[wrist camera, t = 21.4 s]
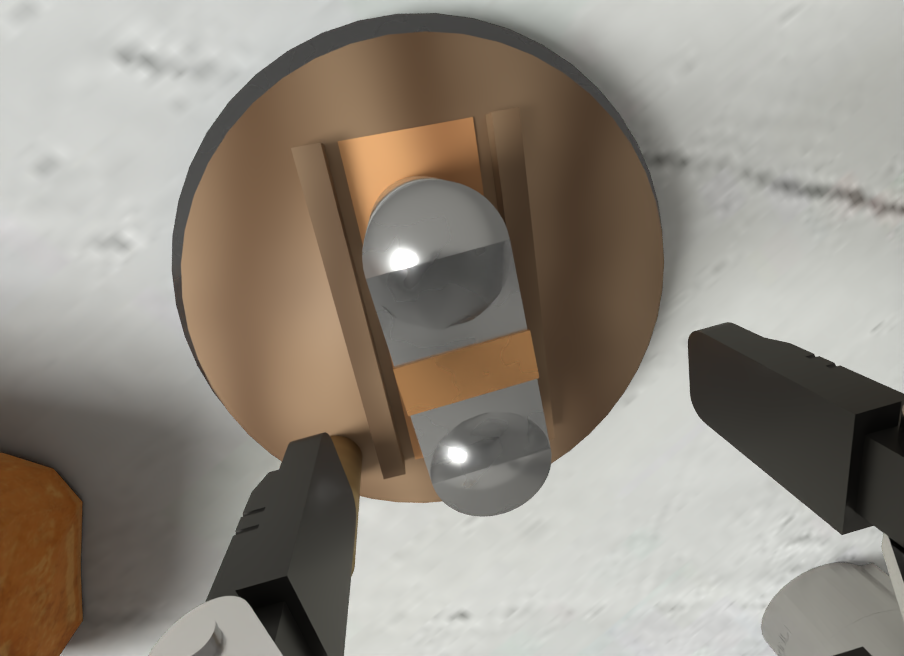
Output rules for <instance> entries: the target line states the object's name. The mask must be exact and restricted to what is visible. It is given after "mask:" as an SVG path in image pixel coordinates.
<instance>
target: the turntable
mask: <svg viewBox="0 0 904 656" xmlns="http://www.w3.org/2000/svg"><path fill="white" fill-rule="evenodd" d="M411 176H429V177H433V178H438V179H442V180H447V181H451V182H455V183H460V184H462V185H465V186H467V187H470V188H472V189H473V190H475V191H477V192H479V193H480V194H481V195H483V196H484V197H485V198H486V199H487V200H488V201H489V202H490V203H491V204H492V205H493V206H494V207H495V208H496V210H497V211H498V212H499V214H500V216H501V217H502V219H503V221H504V223H505V225H506V228H507V231H508V234H509V238H510V243H511V248H512V253H513V258H514V263H515V268H516V273H517V279H518V284H519V289H520V294H521V299H522V304H523V309H524V314H525V319H526V325H527V330H528V329H529V330H530V332H531V337H532V342H533V348H534V353H535V358H536V363H537V368H538V373H539V378H538V379H537V381H538V386H539V391H540V396H541V401H542V406H543V412H544V417H545V422H546V427H547V432H548V437H549V442H550V447H551V455H552V456H551V463H553V462H554V461H556V460H557V459H559V458H560V457H561V456H563V455H564V454H566V453H567V452H569V451H570V450H571V449H572V448H574V447H575V446H576V445H577V444H578V443H579V442H581V441H582V440H583V439H584V438H585V437H586V436H588V435H589V434H590V433H591V432H592V431H593V430H594V429H595V427H596V426H597V425H598V424H599V423H600V422H601V421H602V420H603V419H604V418H605V417H606V416H607V415H608V413H609V412H610V411H611V409H612V408H613V407H614V405H615V404H616V403H617V401H618V400H619V399H620V397H621V396H622V395H623V393H624V392H625V390H626V389H627V387H628V385H629V383H630V382H631V380H632V378H633V377H634V375H635V373H636V372H637V370H638V368H639V365H640V363H641V361H642V359H643V356H644V354H645V352H646V350H647V347H648V345H649V342H650V339H651V336H652V333H653V330H654V326H655V323H656V320H657V316H658V311H659V305H660V300H661V294H662V287H663V270H664V254H663V239H662V229H661V224H660V219H659V214H658V209H657V204H656V201H655V198H654V195H653V192H652V189H651V186H650V183H649V180H648V177H647V175H646V172H645V170H644V168H643V166H642V164H641V162H640V160H639V158H638V156H637V154H636V152H635V150H634V148H633V147H632V145H631V143H630V142H629V140H628V139H627V138H626V136H625V135H624V133H623V132H622V130H621V129H620V128H619V126H618V125H617V123H616V122H615V120H614V119H613V118H612V117H611V116H610V115H609V113H608V112H607V111H606V110H605V109H604V108H603V107H602V106H601V105H600V104H599V103H598V102H597V101H596V100H595V99H594V98H593V96H592V95H591V94H590V93H588V92H587V91H586V90H585V89H583V88H582V87H581V86H579V85H578V84H577V83H576V82H574V81H573V80H572V79H571V78H569V77H568V76H567V75H566V74H564V73H563V72H561V71H559V70H558V69H556V68H554V67H553V66H551V65H549V64H547V63H546V62H544V61H542V60H540V59H539V58H537V57H535V56H533V55H531V54H529V53H526V52H523V51H521V50H518V49H516V48H513V47H511V46H508V45H505V44H503V43H500V42H497V41H492V40H488V39H483V38H479V37H474V36H470V35H465V34H456V33H441V32H426V31H425V32H413V33H402V34H390V35H384V36H380V37H376V38H372V39H368V40H364V41H360V42H356V43H352V44H349V45H346V46H344V47H341V48H339V49H337V50H334V51H332V52H329V53H327V54H324V55H322V56H320V57H317V58H315V59H313V60H311V61H310V62H308V63H307V64H305V65H303V66H302V67H300V68H298V69H297V70H295V71H293V72H292V73H290V74H288V75H287V76H285V77H284V78H282V79H281V80H280V81H278V82H277V83H276V84H275V85H274V86H272V87H271V88H270V89H269V90H268V91H266V92H265V93H264V94H263V95H262V96H261V97H259V98H258V99H257V100H256V101H255V102H253V103H252V105H251V106H250V107H249V108H248V109H247V110H246V111H245V113H244V114H243V115H242V116H241V117H240V118H239V119H238V121H237V122H236V123H235V124H234V125H233V126H232V127H231V129H230V130H229V131H228V132H227V134H226V135H225V137H224V139H223V140H222V142H221V143H220V145H219V147H218V148H217V150H216V151H215V153H214V154H213V156H212V158H211V159H210V161H209V162H208V165H207V167H206V169H205V171H204V174H203V176H202V178H201V181H200V183H199V185H198V187H197V190H196V192H195V194H194V197H193V201H192V205H191V209H190V212H189V216H188V220H187V224H186V227H185V233H184V242H183V251H182V260H181V276H182V299H183V304H184V310H185V315H186V320H187V326H188V331H189V334H190V337H191V339H192V342H193V345H194V348H195V351H196V354H197V357H198V360H199V362H200V364H201V366H202V368H203V370H204V372H205V374H206V376H207V378H208V380H209V382H210V384H211V386H212V388H213V390H214V391H215V393H216V394H217V395H218V397H219V398H220V400H221V401H222V403H223V404H224V406H225V407H226V409H227V410H228V412H229V413H230V414H231V415H232V416H233V417H234V419H235V420H236V421H237V422H238V423H239V424H240V425H241V426H242V428H243V429H244V430H245V431H246V432H247V433H248V434H249V435H250V436H251V437H252V438H253V439H254V440H255V441H257V442H258V443H259V444H260V445H261V446H262V447H264V448H265V449H266V450H267V451H268V452H269V453H270V454H272V455H273V456H275V457H276V458H278V459H279V460H281V461H282V460H283V458H284V455H285V452H286V449H287V447H288V444H289V443H290V442H291V441H295V440H298V439H302V438H306V437H309V436H313V435H316V434H320V433H324V432H326V433H328V434H329V436H330V437H331V439H332V441H333V444H334V446H335V449H336V451H337V454H338V456H339V459H340V461H341V464H342V466H343V469H344V471H345V474H346V476H347V479H348V481H349V484H350V486H351V489H352V492H353V496H354V500H355V506H356V529H355V540H354V551H353V561H352V572H351V576H352V574H353V571H354V567H355V554H356V540H357V525H358V511H359V497H360V496H363V497H367V498H371V499H378V500H386V501H393V502H413V503H428V502H440V501H442V500H441V499H440V497H439V496H438V495H437V493H436V491H435V490H434V487H433V485H432V482H431V479H430V476H429V473H428V469H427V466H426V463H425V460H424V457H423V454H422V451H421V448H420V445H419V442H418V439H417V435H416V432H415V429H414V426H413V423H412V420H411V417H410V416H408V414H407V411H406V408H405V405H404V402H403V399H402V396H401V393H400V390H399V387H398V384H397V381H396V378H395V374H394V371H393V368H394V364H393V361H392V358H391V355H390V352H389V349H388V346H387V343H386V340H385V337H384V334H383V331H382V327H381V324H380V321H379V318H378V315H377V312H376V309H375V306H374V303H373V300H372V297H371V294H370V290H369V287H368V284H367V281H366V278H365V274H364V270H363V262H362V249H363V243H364V238H365V234H366V230H367V226H368V222H369V218H370V214H371V211H372V208H373V206H374V204H375V202H376V200H377V199H378V197H379V196H380V195H381V193H382V192H383V191H384V190H385V189H386V188H387V187H388V186H390V185H391V184H393V183H394V182H396V181H398V180H400V179H403V178H406V177H411Z"/></svg>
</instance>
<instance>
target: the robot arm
mask: <svg viewBox="0 0 904 656" xmlns="http://www.w3.org/2000/svg"><path fill="white" fill-rule="evenodd" d="M688 358H689V379H690V396H691V401H692V404H693V406H694V409H695V411H696V412H697V414H698V416H699V417H700V418H701V419H702V421H703V422H705V423H706V424H707V425H708V426H709V427H711V428H712V429H713V430H714V431H715V432H717V433H718V434H719V435H720V436H722V437H723V438H724V439H725V440H726V441H728V442H729V443H730V444H731V445H733V446H734V447H735V448H736V449H737V450H739V451H740V452H741V453H742V454H744V455H745V456H746V457H747V458H748V459H750V460H751V461H752V462H753V463H755V464H756V465H757V466H758V467H759V468H761V469H762V470H763V471H764V472H766V473H767V474H768V475H769V476H771V477H772V478H773V479H774V480H775V481H777V482H778V483H779V484H780V485H782V486H783V487H784V488H785V489H786V490H788V491H789V492H790V493H791V494H793V495H794V496H795V497H796V498H797V499H799V500H800V501H801V502H802V503H804V504H805V505H806V506H807V507H808V508H810V509H811V510H812V511H813V512H815V513H816V514H817V515H818V516H819V517H821V518H822V519H823V520H824V521H826V522H827V523H828V524H829V525H830V526H832V527H833V528H834V529H835V530H837V531H838V532H839V533H840V534H841V535H844V534H847V533H850V532H854V531H857V530H860V529H864V528H867V527H870V526H875V527H876V528H878V529H879V530H881V531H882V532H883V538H882V545H881V548H882V553H883V556H884V559H885V563H886V566H887V569H888V572H889V575H887V574H886V573H885V572H884V571H883V570H881V569H880V568H879V567H878V566H876V565H875V564H874V563H869V564H866V565H861V566H859V565H855V564H851V563H842V562H837V563H830V564H825V565H822V566H819V567H815V568H813V569H811V570H809V571H807V572H804V573H802V574H801V575H799V576H798V577H796V578H795V579H793V580H791V581H790V582H789V583H788V584H787V585H785V586H784V587H783V588H782V589H781V590H780V591H779V592H778V593H777V594H776V595H775V596H774V598H773V599H772V600H771V602H770V603H769V605H768V606H767V608H766V610H765V613H764V615H763V618H762V624H761V630H762V635H763V637H764V639H765V641H766V642H767V643H768V644H769V646H770V647H771V648H772V649H773V651H774V652H775V653H776V654H777V656H904V394H903V393H901V392H898V391H896V390H894V389H892V388H889V387H887V386H885V385H883V384H880V383H878V382H876V381H874V380H871V379H869V378H867V377H865V376H862V375H860V374H858V373H856V372H853V371H851V370H849V369H847V368H845V367H842V366H836V365H835V363H833V362H831V361H829V360H827V359H824V358H822V357H820V356H818V357H815V355H814V354H813V353H811V352H809V351H806V350H804V349H802V348H800V347H797V346H795V345H793V344H791V343H786V342H782V341H777V340H773V339H768V338H764V337H762V336H759V335H757V334H755V333H753V332H751V331H749V330H746V329H744V328H742V327H740V326H738V325H736V324H733V323H729V322H727V323H723V324H719V325H715V326H712V327H708V328H705V329H701V330H697V331H694V332H692V333H691V334H690V336H689V339H688ZM355 529H356V506H355V500H354V496H353V492H352V489H351V486H350V484H349V481H348V479H347V476H346V474H345V471H344V469H343V466H342V464H341V461H340V459H339V456H338V454H337V451H336V449H335V446H334V444H333V441H332V439H331V437H330V436H329V434H328V433H326V432H324V433H320V434H316V435H313V436H309V437H306V438H302V439H298V440H295V441H291V442H290V443H289V444H288V447H287V449H286V452H285V455H284V458H283V460H282V463H281V466H280V469H279V470H276V471H272V472H269V473H268V474H267V475H266V476H265V478H264V479H263V480H262V481H261V482H260V483H259V485H258V486H257V487H256V488H255V489H254V490H253V491H252V493H251V495H250V498H249V500H248V502H247V505H246V507H245V509H244V512H243V517H241V519H240V521H239V524H238V526H237V528H236V535H234V536H233V538H232V540H231V543H230V545H229V547H228V550H227V552H226V554H225V557H224V559H223V562H222V564H221V566H220V569H219V571H218V573H217V576H216V578H215V581H214V583H213V585H212V588H211V590H210V592H209V595H208V597H207V599H206V602H205V603H203V604H201V605H199V606H197V607H196V608H194V609H192V610H191V611H189V612H188V613H187V614H185V615H184V616H183V617H181V618H180V619H179V620H178V621H176V622H175V623H174V624H173V625H172V626H171V627H170V628H169V629H168V630H167V631H166V632H165V633H164V634H163V635H162V637H161V638H160V639H159V640H158V641H157V643H156V644H155V645H154V647H153V648H152V650H151V651H150V653H149V655H148V656H344V647H345V636H346V625H347V615H348V604H349V593H350V583H351V572H352V561H353V551H354V540H355Z"/></svg>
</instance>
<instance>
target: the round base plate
mask: <svg viewBox="0 0 904 656" xmlns="http://www.w3.org/2000/svg"><path fill="white" fill-rule="evenodd" d="M425 31H426V32H441V33H456V34H465V35H470V36H474V37H479V38H483V39H488V40H492V41H497V42H500V43H503V44H505V45H508V46H511V47H513V48H516V49H518V50H521V51H523V52H526V53H529V54H531V55H533V56H535V57H537V58H539V59H540V60H542V61H544V62H546V63H547V64H549V65H551V66H553V67H554V68H556V69H558V70H559V71H561V72H563V73H564V74H566V75H567V76H568V77H569V78H571V79H572V80H573V81H574V82H576V83H577V84H578V85H579V86H581V87H582V88H583V89H585V90H586V91H587V92H588V93H590V94H591V95H592V96H593V98H594V99H595V100H596V101H597V102H598V103H599V104H600V105H601V106H602V107H603V108H604V109H605V110H606V111H607V112H608V113H609V115H610V116H611V117H612V118H613V119H614V120H615V122H616V123H617V125H618V126H619V128H620V129H621V130H622V132H623V133H624V135H625V136H626V138H627V139H628V140H629V142H630V143H631V145H632V147H633V148H634V150H635V152H636V154H637V156H638V158H639V160H640V162H641V164H642V166H643V168H644V170H645V172H646V175H647V177H648V180H649V183H650V186H651V189H652V192H653V195H654V198H655V201H656V204H657V209H658V214H659V219H660V213H659V206H658V201H657V197H656V194H655V190H654V186H653V183H652V179H651V176H650V172H649V170H648V168H647V165H646V163H645V161H644V158H643V156H642V154H641V151H640V149H639V147H638V144H637V142H636V141H635V139H634V137H633V136H632V134H631V132H630V131H629V129H628V127H627V126H626V124H625V123H624V121H623V119H622V118H621V116H620V114H619V113H618V112H617V111H616V110H615V108H614V107H613V106H612V105H611V103H610V102H609V101H608V100H607V99H606V97H605V96H604V95H603V94H602V92H601V91H600V90H599V89H598V88H597V87H596V86H595V85H594V84H593V83H592V82H591V81H590V80H588V79H587V78H586V77H585V76H584V75H583V74H582V73H581V72H580V71H579V70H577V69H576V68H575V67H574V66H573V65H572V64H570V63H569V62H567V61H566V60H564V59H563V58H561V57H560V56H558V55H557V54H555V53H554V52H552V51H551V50H549V49H548V48H546V47H545V46H544V45H542V44H540V43H538V42H535V41H533V40H531V39H529V38H527V37H525V36H523V35H521V34H519V33H516V32H514V31H512V30H510V29H507V28H504V27H500V26H497V25H494V24H490V23H487V22H484V21H480V20H477V19H473V18H466V17H459V16H452V15H444V14H437V13H426V14H394V15H389V16H383V17H377V18H371V19H365V20H360V21H356V22H353V23H351V24H348V25H345V26H342V27H339V28H336V29H333V30H330V31H327V32H324V33H321V34H319V35H317V36H316V37H314V38H312V39H310V40H308V41H306V42H304V43H302V44H300V45H298V46H296V47H295V48H293V49H291V50H289V51H287V52H286V53H284V54H283V55H282V56H280V57H279V58H278V59H276V60H275V61H274V62H272V63H271V64H269V65H268V66H267V67H265V68H264V69H263V70H261V71H260V72H259V73H257V74H256V75H255V76H254V77H253V78H252V79H251V80H250V81H249V82H248V83H247V84H246V85H245V86H244V87H243V88H242V89H241V90H240V91H239V92H238V93H237V94H236V95H235V96H234V97H233V98H232V99H231V100H230V101H229V103H228V104H227V105H226V107H225V108H224V110H223V111H222V112H221V114H220V115H219V117H218V118H217V119H216V121H215V122H214V123H213V125H212V126H211V128H210V129H209V130H208V132H207V133H206V135H205V137H204V139H203V141H202V143H201V145H200V147H199V149H198V151H197V153H196V155H195V157H194V159H193V161H192V163H191V165H190V167H189V170H188V173H187V176H186V179H185V183H184V186H183V189H182V192H181V195H180V198H179V201H178V207H177V213H176V219H175V225H174V231H173V240H172V275H173V283H174V291H175V299H176V306H177V309H178V313H179V317H180V320H181V324H182V328H183V331H184V335H185V338H186V340H187V342H188V345H189V347H190V349H191V352H192V354H193V356H194V359H195V361H196V363H197V366H198V367H199V369H200V371H201V372H202V374H203V376H204V377H205V379H206V381H207V382H208V384H209V386H210V387H211V389H212V391H213V392H214V394H215V395H216V396H217V397H218V395H217V394H216V393H215V391H214V390H213V388H212V386H211V384H210V382H209V380H208V378H207V376H206V374H205V372H204V370H203V368H202V366H201V364H200V362H199V360H198V357H197V354H196V351H195V348H194V345H193V342H192V339H191V337H190V334H189V331H188V326H187V320H186V315H185V310H184V304H183V299H182V276H181V260H182V251H183V242H184V233H185V227H186V224H187V220H188V216H189V212H190V209H191V205H192V201H193V197H194V194H195V192H196V190H197V187H198V185H199V183H200V181H201V178H202V176H203V174H204V171H205V169H206V167H207V165H208V162H209V161H210V159H211V158H212V156H213V154H214V153H215V151H216V150H217V148H218V147H219V145H220V143H221V142H222V140H223V139H224V137H225V135H226V134H227V132H228V131H229V130H230V129H231V127H232V126H233V125H234V124H235V123H236V122H237V121H238V119H239V118H240V117H241V116H242V115H243V114H244V113H245V111H246V110H247V109H248V108H249V107H250V106H251V105H252V103H253V102H255V101H256V100H257V99H258V98H259V97H261V96H262V95H263V94H264V93H265V92H266V91H268V90H269V89H270V88H271V87H272V86H274V85H275V84H276V83H277V82H278V81H280V80H281V79H282V78H284V77H285V76H287V75H288V74H290V73H292V72H293V71H295V70H297V69H298V68H300V67H302V66H303V65H305V64H307V63H308V62H310V61H311V60H313V59H315V58H317V57H320V56H322V55H324V54H327V53H329V52H332V51H334V50H337V49H339V48H341V47H344V46H346V45H349V44H352V43H356V42H360V41H364V40H368V39H372V38H376V37H380V36H384V35H390V34H402V33H413V32H425ZM660 224H661V220H660ZM661 229H662V227H661ZM218 399H219V400H220V398H219V397H218ZM220 401H221V400H220ZM221 402H222V401H221ZM222 404H223V403H222ZM223 405H224V404H223Z"/></svg>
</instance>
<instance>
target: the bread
mask: <svg viewBox="0 0 904 656" xmlns="http://www.w3.org/2000/svg"><path fill="white" fill-rule="evenodd" d="M81 535H82V501H81V500H80V498H79V497H78V496H77V495H76V494H75V493H74V492H73V490H72V489H71V488H70V487H69V486H68V485H67V483H66V482H65V481H64V480H63V479H62V478H61V477H60V475H59V474H58V473H57V472H56V471H55V470H54V469H53V468H50V467H46V466H43V465H40V464H37V463H34V462H31V461H27V460H24V459H21V458H18V457H15V456H12V455H8V454H5V453H0V656H59V655H60V654H61V652H62V651H63V649H64V648H65V646H66V645H67V643H68V642H69V640H70V639H71V637H72V636H73V634H74V633H75V631H76V630H77V628H78V627H79V625H80V624H81V622H82V621H83V612H82V590H81Z"/></svg>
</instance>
